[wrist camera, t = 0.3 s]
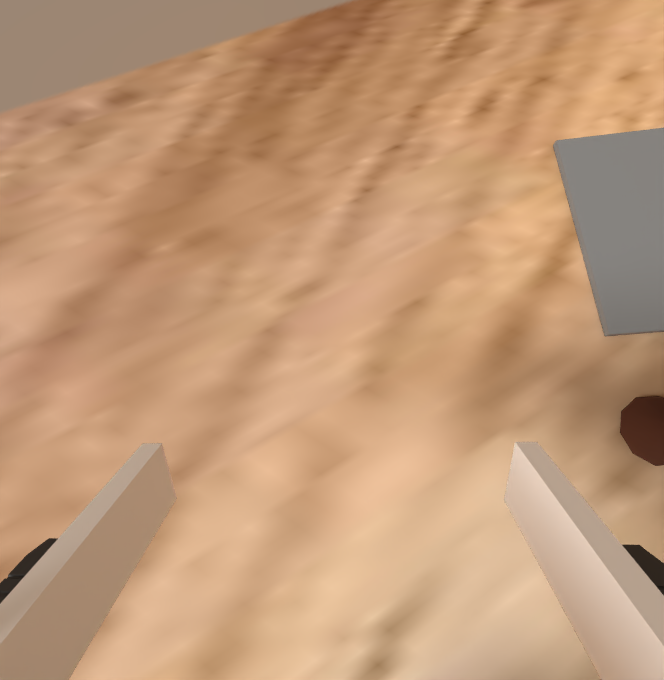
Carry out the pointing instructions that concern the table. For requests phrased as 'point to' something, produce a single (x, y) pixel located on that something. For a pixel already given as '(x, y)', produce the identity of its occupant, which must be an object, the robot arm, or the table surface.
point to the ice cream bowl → (645, 428)
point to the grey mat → (619, 223)
